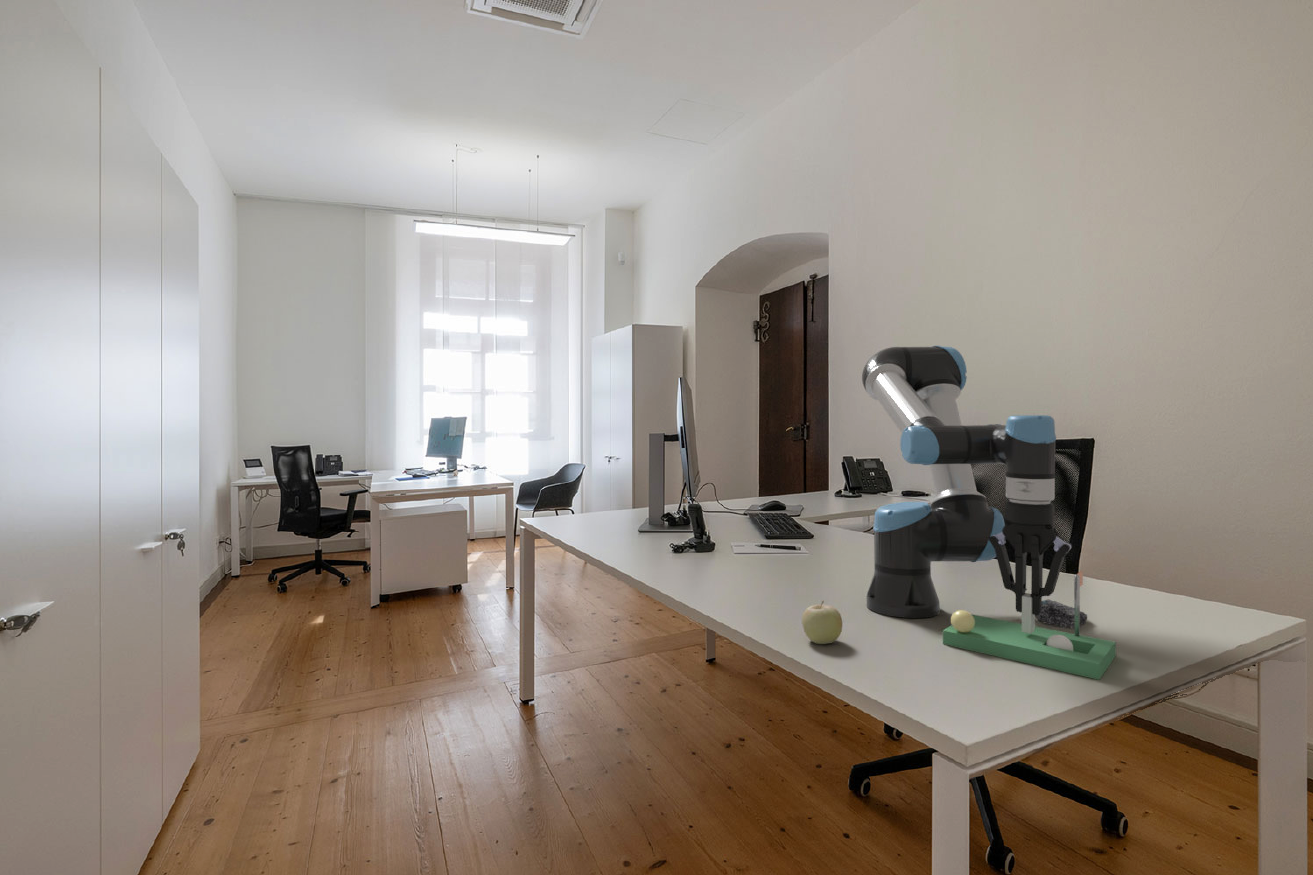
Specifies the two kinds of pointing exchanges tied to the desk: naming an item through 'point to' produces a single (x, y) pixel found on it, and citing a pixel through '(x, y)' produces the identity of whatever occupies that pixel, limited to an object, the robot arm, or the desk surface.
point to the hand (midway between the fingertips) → (1028, 630)
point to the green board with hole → (1034, 646)
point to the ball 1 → (962, 621)
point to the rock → (1059, 614)
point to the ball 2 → (1060, 642)
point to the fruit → (822, 623)
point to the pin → (1077, 602)
